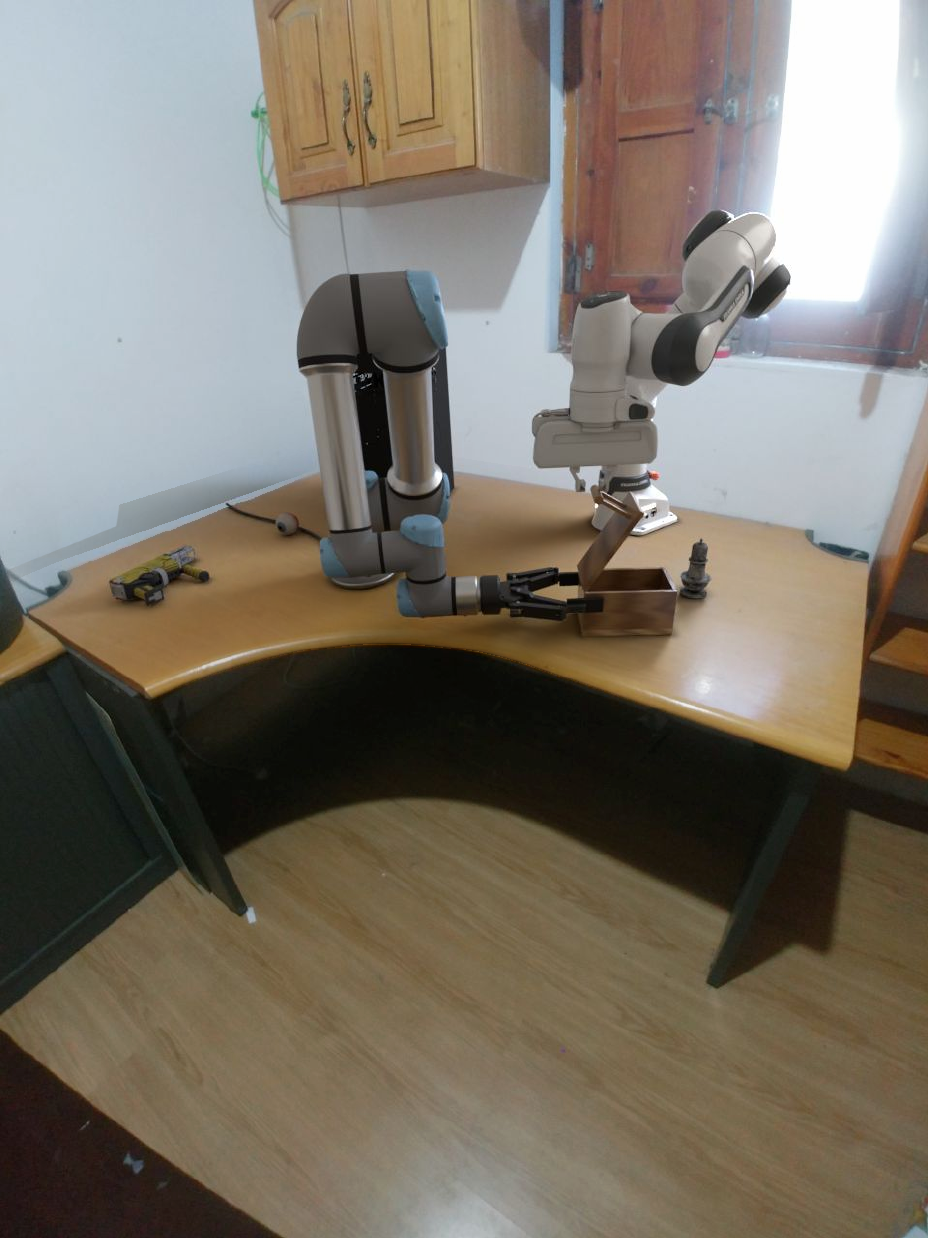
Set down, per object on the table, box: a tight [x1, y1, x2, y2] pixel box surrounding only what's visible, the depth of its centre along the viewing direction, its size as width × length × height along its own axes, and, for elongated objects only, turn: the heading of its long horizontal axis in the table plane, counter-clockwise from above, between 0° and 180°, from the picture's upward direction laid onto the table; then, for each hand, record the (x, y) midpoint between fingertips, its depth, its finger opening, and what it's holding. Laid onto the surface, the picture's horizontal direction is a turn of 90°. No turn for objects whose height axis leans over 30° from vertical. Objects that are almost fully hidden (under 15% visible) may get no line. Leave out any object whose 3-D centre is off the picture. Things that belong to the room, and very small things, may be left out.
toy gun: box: [108, 544, 210, 607], centre depth 141 cm, size 5×24×15 cm
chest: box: [577, 566, 678, 637], centre depth 114 cm, size 16×10×9 cm, turn 86°
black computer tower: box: [353, 347, 455, 531], centre depth 168 cm, size 38×20×45 cm, turn 167°
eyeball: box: [275, 511, 300, 536], centre depth 163 cm, size 6×6×6 cm
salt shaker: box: [679, 537, 712, 599], centre depth 122 cm, size 6×6×12 cm
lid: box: [576, 484, 645, 592], centre depth 107 cm, size 17×10×8 cm
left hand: (597, 590), depth 113 cm, fingers closed on chest, 10 cm apart
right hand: (591, 490), depth 104 cm, fingers open, 3 cm apart
